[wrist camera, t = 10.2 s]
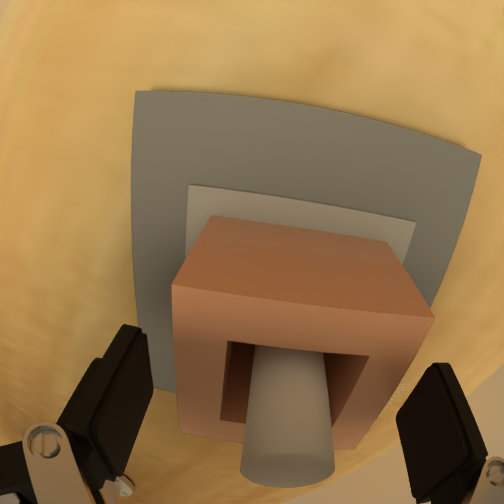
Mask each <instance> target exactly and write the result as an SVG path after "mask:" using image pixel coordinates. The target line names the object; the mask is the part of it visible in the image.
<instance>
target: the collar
mask: <svg viewBox="0 0 504 504" xmlns="http://www.w3.org/2000/svg"><path fill="white" fill-rule="evenodd" d="M434 319H435V317H434V315H433V313H432V312H431V310H430V308H429V307H428V305H427V303H426V302H425V300H424V298H423V297H422V295H421V294H420V292H419V290H418V289H417V287H416V285H415V284H414V282H413V281H412V279H411V278H410V276H409V274H408V273H407V271H406V270H405V268H404V267H403V265H402V264H401V262H400V261H399V259H398V258H397V256H396V255H395V253H394V252H393V250H392V249H391V247H390V246H389V244H388V243H387V242H384V241H378V240H373V239H367V238H361V237H355V236H348V235H342V234H336V233H330V232H324V231H317V230H311V229H304V228H298V227H291V226H284V225H277V224H271V223H264V222H257V221H250V220H242V219H235V218H228V217H220V216H213V215H211V216H210V218H209V220H208V221H207V223H206V225H205V227H204V228H203V230H202V232H201V233H200V235H199V237H198V239H197V240H196V242H195V244H194V245H193V247H192V249H191V251H190V252H189V254H188V256H187V258H186V260H185V261H184V263H183V265H182V267H181V268H180V270H179V272H178V274H177V276H176V277H175V279H174V281H173V283H172V322H173V345H174V363H175V379H176V392H177V404H178V415H179V425H180V432H181V433H186V434H191V435H196V436H201V437H207V438H213V439H219V440H225V441H232V442H239V443H244V435H245V426H246V418H247V410H248V401H249V393H250V384H251V376H252V367H253V358H254V349H255V344H257V345H264V346H272V347H280V348H288V349H297V350H306V351H316V352H323V355H324V363H325V371H326V380H327V389H328V398H329V407H330V417H331V427H332V438H333V449H355V447H356V446H357V445H358V443H359V442H360V441H361V439H362V438H363V437H364V435H365V434H366V433H367V431H368V430H369V428H370V427H371V426H372V424H373V423H374V421H375V420H376V418H377V417H378V416H379V414H380V413H381V411H382V410H383V408H384V407H385V405H386V404H387V402H388V401H389V399H390V397H391V396H392V394H393V393H394V391H395V390H396V388H397V386H398V385H399V383H400V381H401V380H402V378H403V376H404V375H405V373H406V371H407V370H408V368H409V366H410V364H411V363H412V361H413V359H414V357H415V356H416V354H417V352H418V350H419V348H420V346H421V345H422V343H423V341H424V339H425V337H426V335H427V333H428V331H429V329H430V327H431V325H432V323H433V321H434Z"/></svg>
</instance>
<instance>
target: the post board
mask: <svg viewBox="0 0 504 504" xmlns="http://www.w3.org/2000/svg"><path fill="white" fill-rule="evenodd" d="M481 156H482V155H481V154H479V153H476V152H474V151H471V150H468V149H466V148H463V147H461V146H458V145H455V144H452V143H450V142H447V141H444V140H441V139H438V138H435V137H432V136H429V135H426V134H423V133H420V132H417V131H413V130H410V129H407V128H403V127H400V126H397V125H393V124H389V123H386V122H382V121H378V120H374V119H370V118H366V117H362V116H358V115H354V114H349V113H345V112H340V111H336V110H331V109H326V108H321V107H315V106H310V105H304V104H299V103H292V102H286V101H279V100H272V99H265V98H257V97H249V96H239V95H229V94H217V93H203V92H183V91H135V103H134V116H133V133H132V157H131V229H132V253H133V270H134V284H135V296H136V307H137V317H138V326H139V328H141V329H142V333H145V334H147V339H148V348H149V357H150V365H151V372H152V379H153V387H154V388H157V389H161V390H166V391H170V392H175V393H177V392H176V379H175V363H174V345H173V322H172V283H173V281H174V279H175V277H176V276H177V274H178V272H179V270H180V268H181V267H182V265H183V263H184V261H185V260H186V258H187V256H188V254H189V252H190V251H191V249H192V247H193V245H194V244H195V242H196V240H197V239H198V237H199V235H200V233H201V232H202V230H203V228H204V227H205V225H206V223H207V221H208V220H209V218H210V216H211V215H213V216H220V217H228V218H235V219H242V220H250V221H257V222H264V223H271V224H277V225H284V226H291V227H298V228H304V229H311V230H317V231H324V232H330V233H336V234H342V235H348V236H355V237H361V238H367V239H373V240H378V241H384V242H387V243H388V244H389V246H390V247H391V249H392V250H393V252H394V253H395V255H396V256H397V258H398V259H399V261H400V262H401V264H402V265H403V267H404V268H405V270H406V271H407V273H408V274H409V276H410V278H411V279H412V281H413V282H414V284H415V285H416V287H417V289H418V290H419V292H420V294H421V295H422V297H423V298H424V300H425V302H426V303H427V305H428V307H429V308H430V307H431V305H432V303H433V300H434V298H435V296H436V294H437V291H438V289H439V287H440V284H441V282H442V279H443V277H444V275H445V272H446V270H447V267H448V264H449V262H450V259H451V257H452V254H453V251H454V249H455V246H456V243H457V240H458V237H459V234H460V232H461V229H462V226H463V222H464V219H465V216H466V213H467V210H468V206H469V203H470V200H471V196H472V193H473V189H474V185H475V181H476V177H477V173H478V169H479V165H480V161H481ZM334 470H335V463H334V450H333V438H332V427H331V417H330V407H329V398H328V389H327V380H326V371H325V363H324V355H323V352H316V351H306V350H297V349H288V348H280V347H272V346H264V345H257V344H255V349H254V358H253V367H252V376H251V384H250V393H249V401H248V410H247V418H246V426H245V435H244V443H243V451H242V459H241V467H240V471H241V474H242V475H243V476H244V477H245V478H246V479H248V480H250V481H252V482H254V483H257V484H261V485H265V486H271V487H282V488H290V487H301V486H307V485H311V484H315V483H318V482H320V481H323V480H325V479H326V478H328V477H329V476H331V475H332V474H333V472H334Z"/></svg>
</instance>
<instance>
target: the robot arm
mask: <svg viewBox="0 0 504 504" xmlns="http://www.w3.org/2000/svg"><path fill="white" fill-rule="evenodd" d="M153 388H154V387H153V379H152V372H151V365H150V357H149V348H148V339H147V334H145V333H142V329H141V328H139V327H135V326H130V325H126V324H124V325H122V326H121V328H120V330H119V331H118V333H117V334H116V336H115V338H114V339H113V341H112V343H111V344H110V346H109V348H108V349H107V351H106V353H105V354H104V356H103V358H95V359H94V360H93V361H92V363H91V364H90V366H89V367H88V369H87V371H86V372H85V374H84V376H83V377H82V379H81V381H80V382H79V384H78V386H77V388H76V389H75V391H74V393H73V394H72V396H71V398H70V400H69V401H68V403H67V405H66V407H65V409H64V410H63V412H62V414H61V416H60V417H59V419H58V421H57V423H56V424H55V423H52V422H48V421H43V422H38V423H35V424H33V425H31V426H30V427H29V428H28V429H27V430H26V432H25V433H24V436H23V440H22V441H19V442H16V443H12V444H8V445H4V446H0V504H117V501H118V498H119V496H130V495H132V493H133V491H134V486H133V484H132V483H131V481H130V480H129V479H127V478H126V477H125V476H124V475H123V473H124V470H125V468H126V465H127V462H128V459H129V456H130V454H131V451H132V448H133V445H134V443H135V440H136V437H137V435H138V432H139V429H140V427H141V424H142V421H143V419H144V416H145V413H146V411H147V408H148V405H149V403H150V400H151V398H152V395H153ZM396 424H397V428H398V432H399V436H400V440H401V445H402V449H403V453H404V457H405V462H406V467H407V472H408V477H409V482H410V487H411V492H412V496H413V497H414V498H416V503H417V504H421V503H426V502H429V501H431V504H504V459H503V458H500V457H491V458H489V459H488V460H487V461H486V458H485V457H486V456H487V455H488V452H487V450H486V447H485V444H484V441H483V439H482V436H481V434H480V431H479V429H478V426H477V423H476V421H475V418H474V416H473V414H472V411H471V409H470V407H469V404H468V402H467V400H466V397H465V395H464V393H463V391H462V388H461V386H460V384H459V382H458V380H457V378H456V375H455V373H454V371H453V369H452V367H451V365H450V364H449V363H433V364H432V365H431V366H430V367H428V368H427V369H426V371H425V372H424V374H423V376H422V377H421V379H420V380H419V382H418V383H417V385H416V386H415V388H414V390H413V391H412V392H411V394H410V395H409V397H408V398H407V400H406V401H405V403H404V404H403V406H402V407H401V408H400V410H399V411H398V413H397V415H396Z"/></svg>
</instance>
